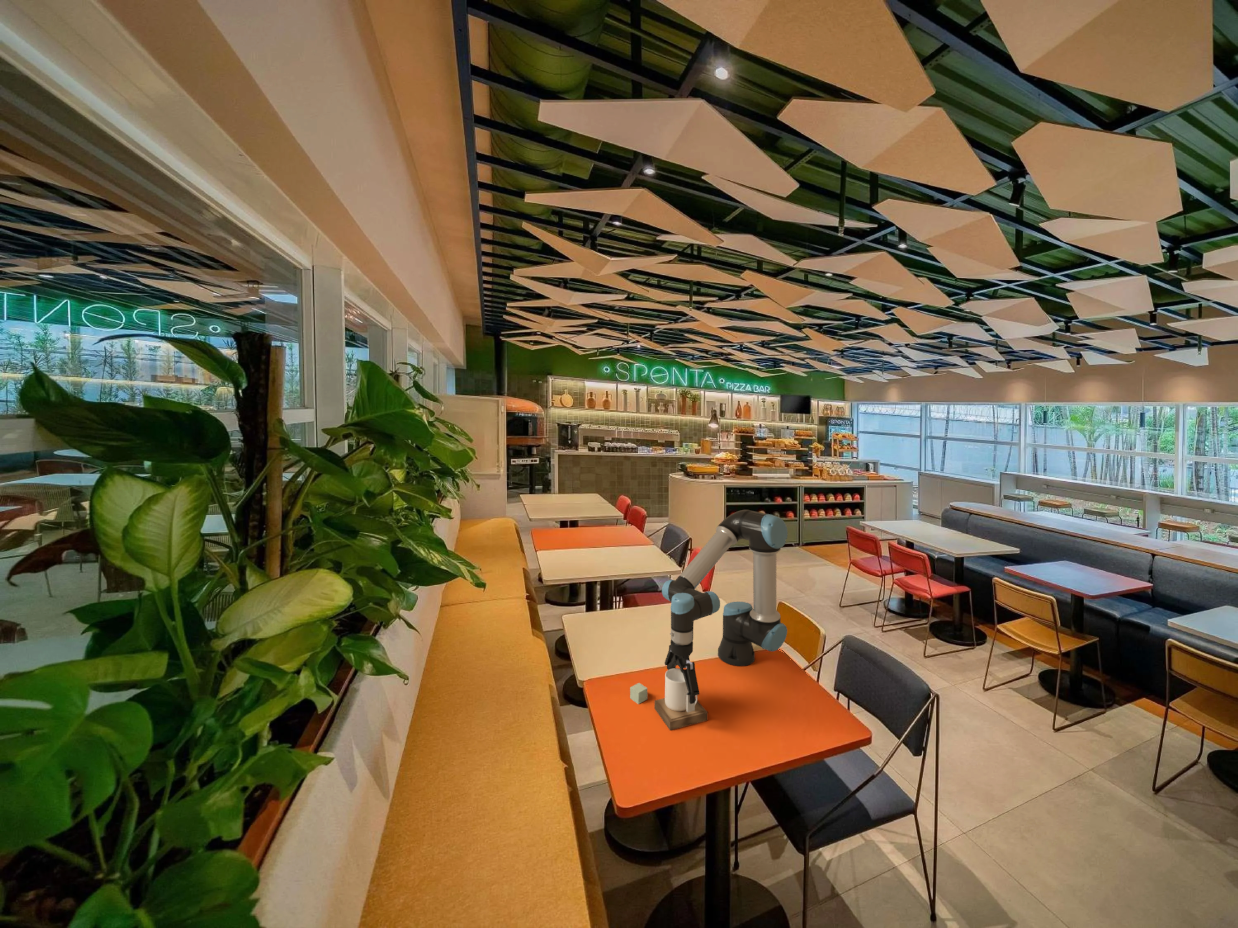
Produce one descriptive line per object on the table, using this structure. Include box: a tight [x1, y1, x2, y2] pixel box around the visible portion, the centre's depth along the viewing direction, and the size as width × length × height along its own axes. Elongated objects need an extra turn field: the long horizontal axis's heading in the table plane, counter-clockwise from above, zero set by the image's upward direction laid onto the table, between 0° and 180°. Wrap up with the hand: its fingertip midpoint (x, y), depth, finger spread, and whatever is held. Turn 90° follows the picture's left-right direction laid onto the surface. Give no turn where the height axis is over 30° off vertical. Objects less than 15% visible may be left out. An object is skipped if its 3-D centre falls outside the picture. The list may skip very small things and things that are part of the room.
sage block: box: [629, 682, 648, 705], centre depth 169 cm, size 4×4×4 cm
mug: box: [664, 667, 698, 711], centre depth 159 cm, size 9×12×11 cm
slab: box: [654, 697, 708, 731], centre depth 160 cm, size 14×12×3 cm
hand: (680, 698), depth 160 cm, fingers open, 13 cm apart
